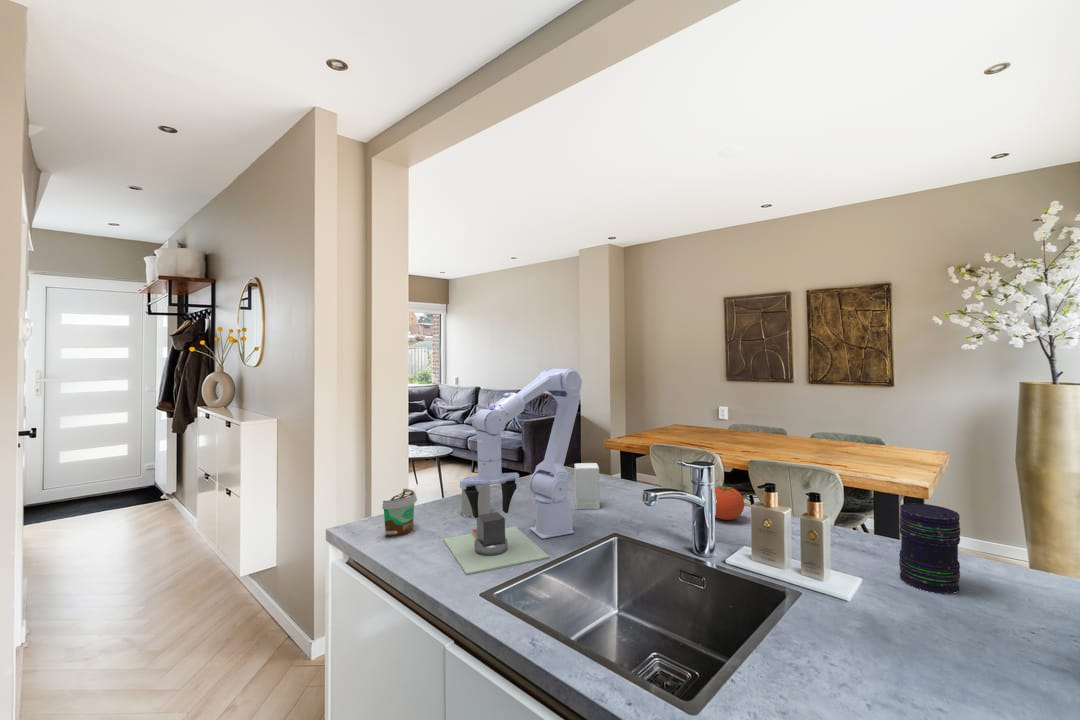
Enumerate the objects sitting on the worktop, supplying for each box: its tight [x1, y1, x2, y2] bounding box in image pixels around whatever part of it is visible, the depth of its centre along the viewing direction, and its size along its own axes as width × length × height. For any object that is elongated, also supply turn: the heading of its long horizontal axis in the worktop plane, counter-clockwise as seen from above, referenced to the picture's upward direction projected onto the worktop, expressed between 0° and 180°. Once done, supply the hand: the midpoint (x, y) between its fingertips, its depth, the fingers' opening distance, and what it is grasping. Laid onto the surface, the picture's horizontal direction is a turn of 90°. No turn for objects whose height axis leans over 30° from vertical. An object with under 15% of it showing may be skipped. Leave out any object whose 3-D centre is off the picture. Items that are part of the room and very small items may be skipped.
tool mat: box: [442, 525, 550, 576], centre depth 124 cm, size 20×22×1 cm
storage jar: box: [898, 502, 961, 594], centre depth 103 cm, size 10×10×15 cm
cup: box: [461, 475, 491, 517], centre depth 151 cm, size 8×8×10 cm
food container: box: [381, 488, 418, 538], centre depth 136 cm, size 12×6×10 cm, turn 168°
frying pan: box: [471, 528, 508, 556], centre depth 126 cm, size 16×8×6 cm, turn 24°
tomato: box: [714, 483, 745, 521], centre depth 142 cm, size 10×10×10 cm
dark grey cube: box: [476, 511, 506, 547], centre depth 122 cm, size 5×5×6 cm
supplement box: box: [573, 462, 601, 510], centre depth 156 cm, size 7×7×13 cm
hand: (490, 514), depth 122 cm, fingers open, 7 cm apart
